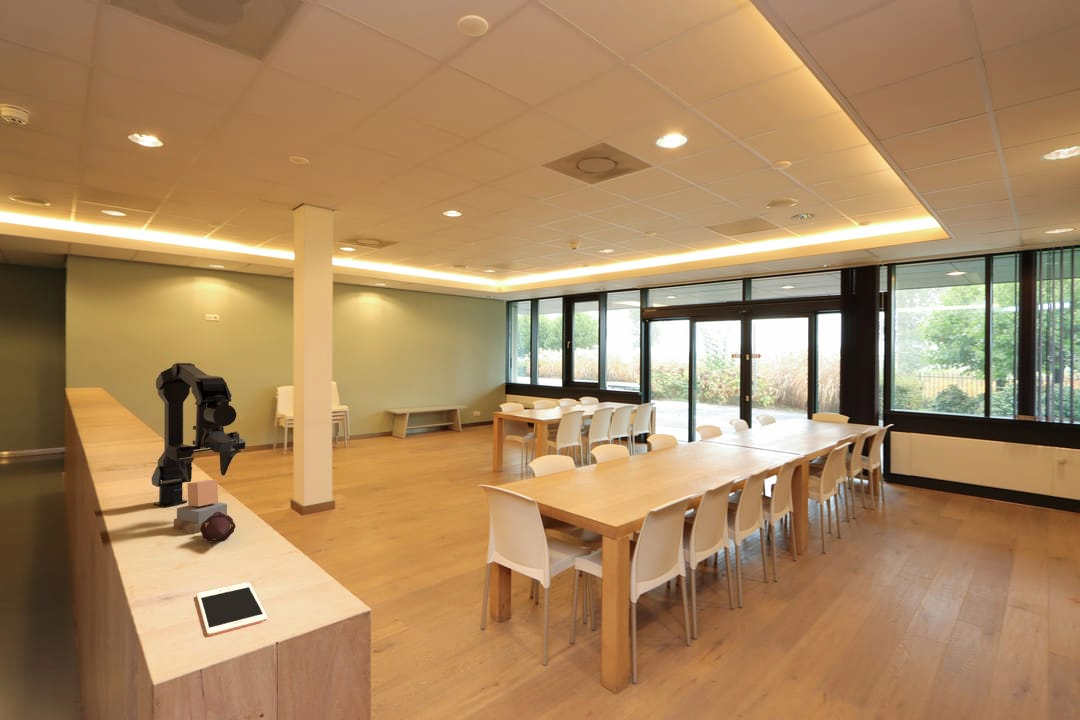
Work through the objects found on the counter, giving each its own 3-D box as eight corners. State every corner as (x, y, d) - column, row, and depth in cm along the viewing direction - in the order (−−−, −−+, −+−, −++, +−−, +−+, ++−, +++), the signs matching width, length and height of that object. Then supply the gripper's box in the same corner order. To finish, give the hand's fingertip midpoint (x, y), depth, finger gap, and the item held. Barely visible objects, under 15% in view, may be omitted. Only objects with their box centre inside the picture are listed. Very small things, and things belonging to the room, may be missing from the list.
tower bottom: (173, 530, 135) (174, 519, 135) (208, 521, 144) (208, 510, 144) (194, 536, 132) (194, 524, 132) (229, 526, 140) (229, 515, 140)
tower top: (176, 519, 135) (176, 508, 135) (205, 511, 143) (205, 500, 143) (198, 523, 132) (198, 511, 132) (226, 514, 140) (227, 503, 140)
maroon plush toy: (242, 519, 124) (235, 510, 136) (207, 516, 120) (202, 507, 132) (234, 549, 122) (226, 537, 134) (198, 547, 118) (194, 535, 130)
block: (188, 506, 137) (187, 483, 138) (208, 501, 141) (207, 479, 142) (198, 506, 135) (197, 483, 135) (218, 502, 139) (217, 479, 139)
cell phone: (249, 586, 103) (249, 581, 103) (267, 623, 89) (268, 617, 89) (196, 598, 98) (196, 593, 98) (207, 639, 84) (207, 633, 84)
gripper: (190, 428, 131) (188, 490, 131) (258, 421, 147) (257, 476, 147) (165, 424, 135) (163, 483, 136) (234, 418, 152) (232, 470, 152)
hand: (206, 478), depth 143 cm, fingers open, 9 cm apart
